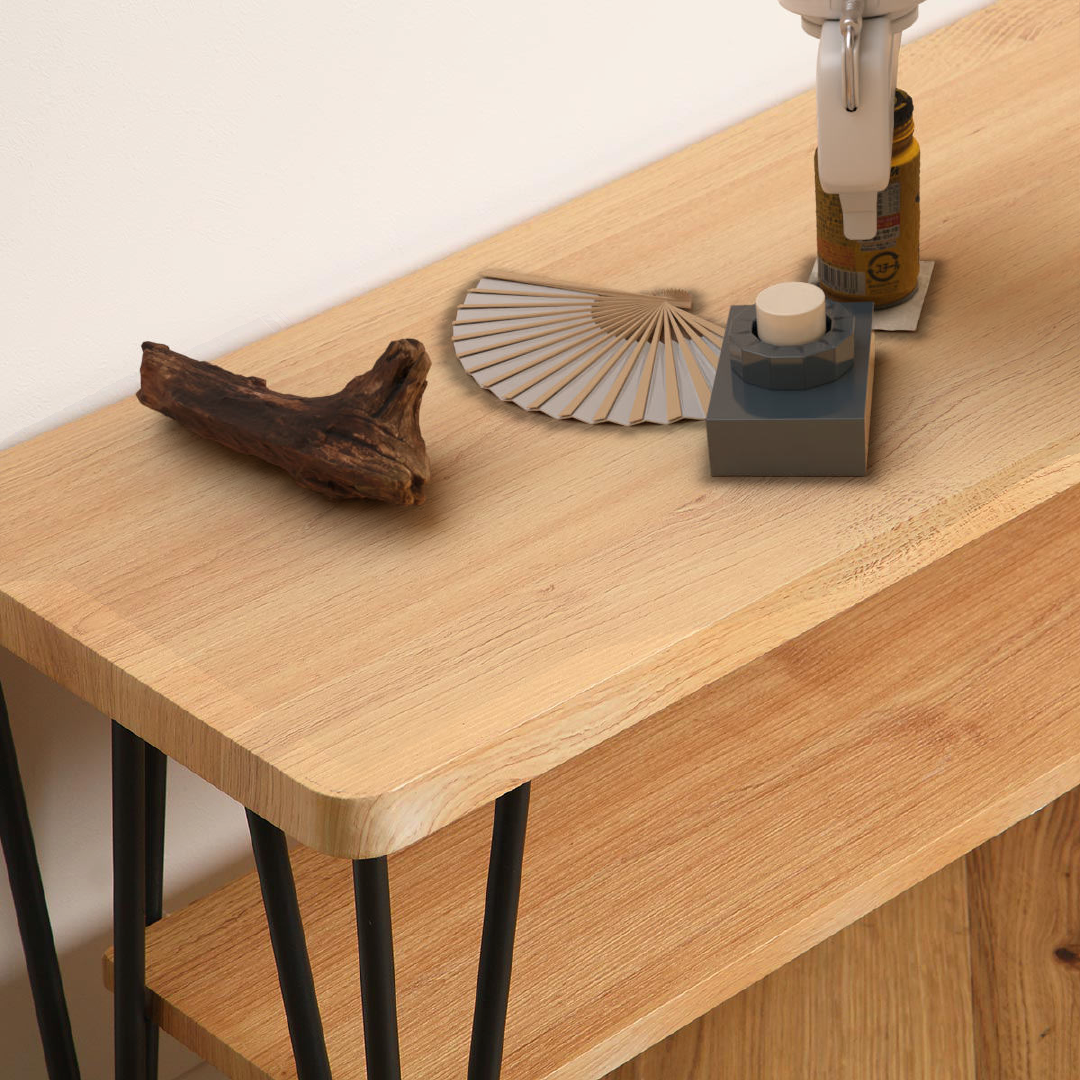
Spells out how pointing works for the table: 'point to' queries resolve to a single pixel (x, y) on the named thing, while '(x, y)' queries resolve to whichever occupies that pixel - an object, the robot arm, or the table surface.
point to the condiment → (878, 238)
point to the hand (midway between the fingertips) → (864, 197)
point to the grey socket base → (793, 398)
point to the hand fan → (586, 350)
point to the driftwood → (307, 421)
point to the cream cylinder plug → (791, 314)
